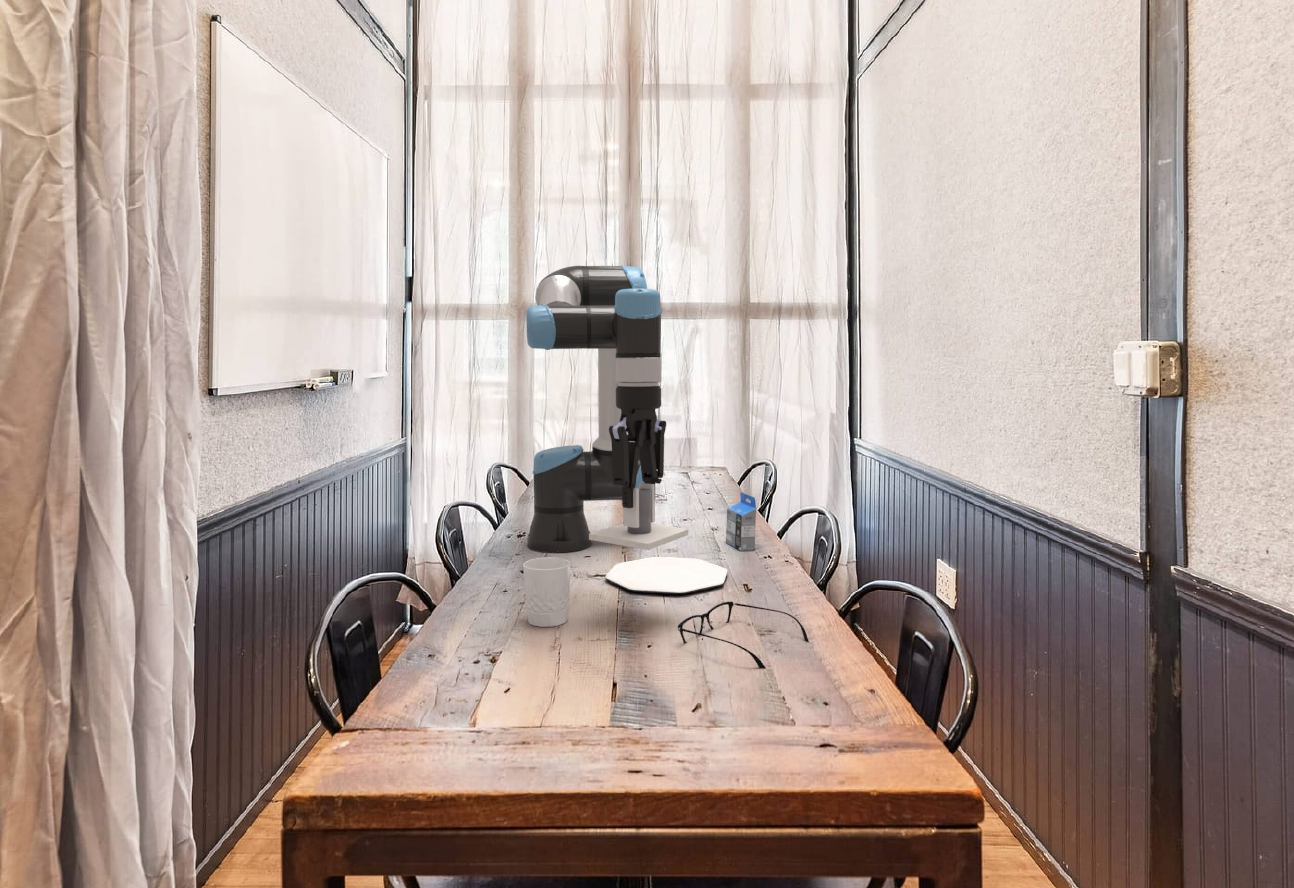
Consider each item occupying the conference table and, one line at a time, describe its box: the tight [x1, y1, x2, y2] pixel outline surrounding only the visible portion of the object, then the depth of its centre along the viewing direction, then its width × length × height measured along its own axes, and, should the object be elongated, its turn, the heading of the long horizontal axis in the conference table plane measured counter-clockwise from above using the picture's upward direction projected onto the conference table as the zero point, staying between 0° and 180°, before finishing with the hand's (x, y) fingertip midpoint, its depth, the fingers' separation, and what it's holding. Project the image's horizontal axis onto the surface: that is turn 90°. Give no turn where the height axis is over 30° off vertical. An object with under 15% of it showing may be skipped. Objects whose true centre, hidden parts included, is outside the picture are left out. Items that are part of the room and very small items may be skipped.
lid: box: [589, 488, 689, 551], centre depth 128 cm, size 12×12×8 cm
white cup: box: [522, 556, 571, 628], centre depth 129 cm, size 8×8×10 cm
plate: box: [604, 556, 729, 595], centre depth 153 cm, size 24×24×2 cm
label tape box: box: [725, 491, 757, 552], centre depth 178 cm, size 9×4×12 cm, turn 17°
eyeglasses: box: [676, 601, 810, 670], centre depth 119 cm, size 16×16×4 cm
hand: (639, 523), depth 128 cm, fingers closed on lid, 4 cm apart
